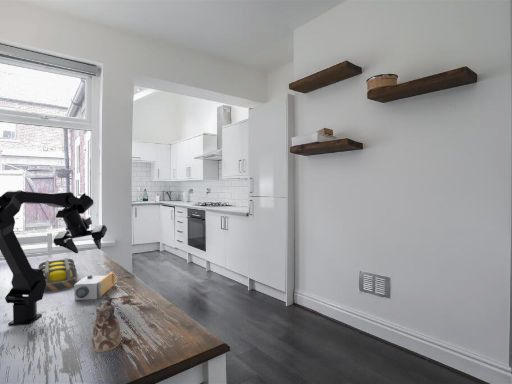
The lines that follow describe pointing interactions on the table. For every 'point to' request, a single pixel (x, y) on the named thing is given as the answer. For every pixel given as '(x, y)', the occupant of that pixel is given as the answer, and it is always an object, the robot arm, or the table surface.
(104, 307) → the figurine
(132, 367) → the table surface
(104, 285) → the side door
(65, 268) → the cage light
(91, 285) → the block
